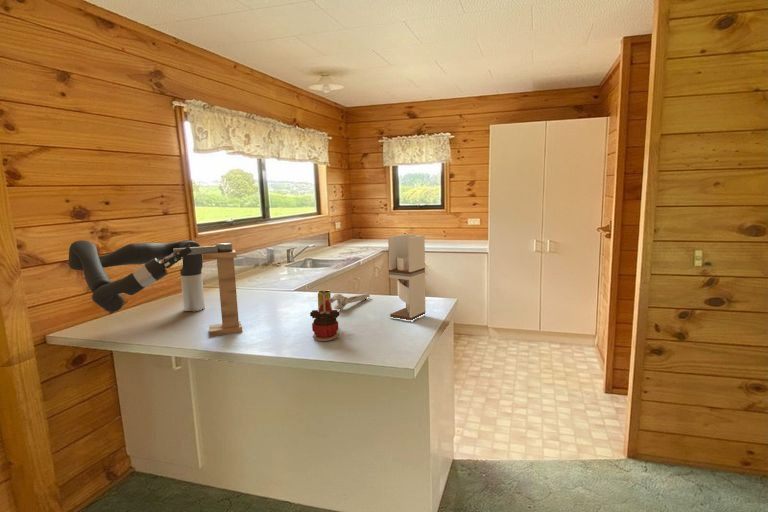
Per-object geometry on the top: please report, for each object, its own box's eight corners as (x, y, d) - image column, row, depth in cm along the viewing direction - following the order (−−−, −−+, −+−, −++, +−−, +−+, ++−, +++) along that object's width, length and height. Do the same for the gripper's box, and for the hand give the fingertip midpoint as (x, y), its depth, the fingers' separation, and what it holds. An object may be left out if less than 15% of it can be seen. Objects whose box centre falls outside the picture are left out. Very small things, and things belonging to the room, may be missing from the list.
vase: (321, 328, 173) (319, 294, 171) (316, 324, 178) (314, 291, 176) (335, 326, 176) (333, 292, 174) (330, 322, 181) (328, 289, 179)
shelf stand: (209, 330, 175) (202, 251, 171) (240, 325, 180) (234, 249, 175) (209, 336, 167) (202, 254, 163) (242, 331, 172) (236, 252, 167)
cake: (309, 342, 158) (306, 294, 155) (314, 334, 167) (312, 288, 164) (338, 342, 157) (336, 293, 154) (341, 334, 166) (339, 288, 164)
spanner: (173, 254, 165) (172, 246, 164) (231, 250, 174) (230, 242, 174) (174, 256, 159) (173, 248, 159) (233, 251, 169) (233, 244, 168)
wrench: (369, 304, 220) (334, 312, 194) (366, 304, 221) (331, 312, 195) (370, 288, 220) (335, 294, 194) (367, 288, 221) (331, 294, 195)
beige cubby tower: (404, 312, 194) (403, 234, 188) (425, 315, 187) (424, 235, 182) (390, 318, 184) (388, 237, 179) (411, 322, 178) (409, 238, 173)
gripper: (158, 277, 168) (196, 253, 173) (155, 284, 155) (196, 258, 159) (145, 262, 166) (185, 237, 170) (141, 267, 153) (183, 241, 157)
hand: (190, 247), depth 165 cm, fingers open, 6 cm apart
